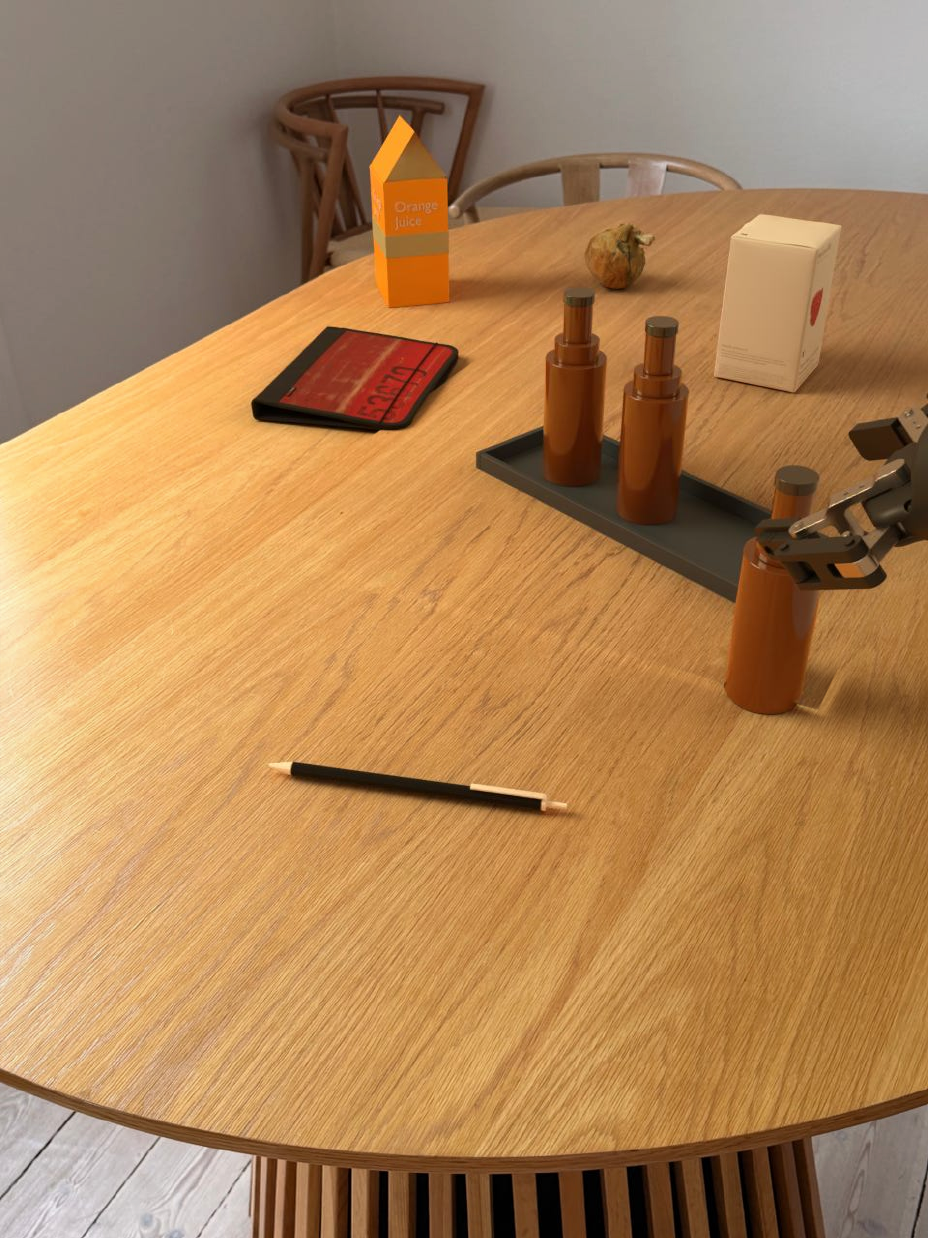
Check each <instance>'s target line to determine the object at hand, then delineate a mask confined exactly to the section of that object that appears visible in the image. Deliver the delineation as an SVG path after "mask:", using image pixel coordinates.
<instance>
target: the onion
mask: <svg viewBox="0 0 928 1238" xmlns="http://www.w3.org/2000/svg"><path fill="white" fill-rule="evenodd" d="M618 225H619V226H618V227H616V228H610V229H606V230H604V231H602V232H598V233H597V234H595V235H593V236H592V237H591V238H590V239H589V241H588V243H587V246H586V248H585V250H584V254H583V257H584V262H585V265H586V267H587V269H588V270H589V272H590V273H591V275H592V276H593V277H594V279H596V281H598V282H599V284H600V285H601V286H604V287H605V288H608V289H614V290H619V289H625V288H628V287H631V286H632V285H633V284H634V283H635V282H636V281H637V280H638V279H639V278H640V277H641V275H642V273H643V272H644V267H645V265H646V256H645V251H644V248H645V247H644V246H646V247H650V246H651V245H652V244H653V243H654V242H655V241H656V238H655V236H654V235H653V234H648V233H647V234H645V233H644V232H643V231H642V230H641V229H640V228H639V227H637V226H636V225H634V223H632V224H631V223H628V222H627V223H626V222H622V223H619V224H618ZM639 245H641V246H643V247H640V246H639Z"/></svg>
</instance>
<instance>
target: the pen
mask: <svg viewBox="0 0 928 1238" xmlns="http://www.w3.org/2000/svg"><path fill="white" fill-rule="evenodd" d="M265 765H266V767H268V768H270V769H272V770H275V771H278V772H281V773H284V774H287V775H289V776H293V777H299V778H305V779H312V780H313V779H314V780H319V781H320V780H321V781H328V782H334V783H335V782H336V783H343V784H351V785H356V786H364V787H371V788H377V789H378V788H379V789H385V790H392V791H393V790H394V791H400V792H408V793H414V794H422V795H428V796H435V797H443V798H450V799H457V800H463V801H471V802H478V803H486V804H492V805H500V806H507V807H514V808H520V809H528V810H536V811H541V812H542V811H543V812H546V811H547V808H551V809H557V810H564V811H565V810H566V811H567V810H568V803H565V802H560V801H553V800H548V794H546V793H544V792H537V791H536V792H535V791H531V790H530V791H529V790H522V789H516V788H510V787H509V788H508V787H500V786H493V785H486V784H481V783H480V784H479V783H473V782H472V783H471V784H470V785H466V784H458V783H451V782H444V781H438V780H429V779H422V778H415V777H408V776H399V775H393V774H386V773H378V772H372V771H364V770H358V769H349V768H343V767H335V766H328V765H322V764H321V765H320V764H314V763H305V762H298V761H284V762H283V761H282V762H271V763H270V762H269V763H266V764H265Z"/></svg>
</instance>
